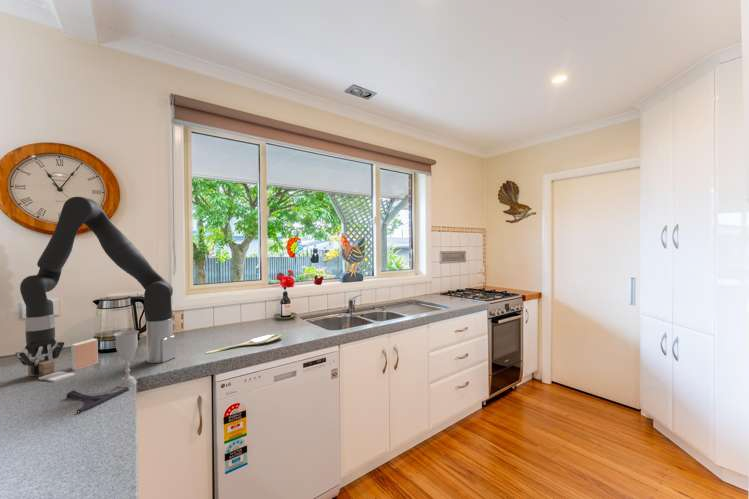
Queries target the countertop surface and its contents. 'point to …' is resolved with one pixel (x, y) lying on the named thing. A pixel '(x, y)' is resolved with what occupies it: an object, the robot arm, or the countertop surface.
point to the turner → (49, 372)
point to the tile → (84, 354)
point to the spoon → (251, 342)
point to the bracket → (93, 398)
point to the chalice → (127, 352)
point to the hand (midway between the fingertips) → (41, 373)
